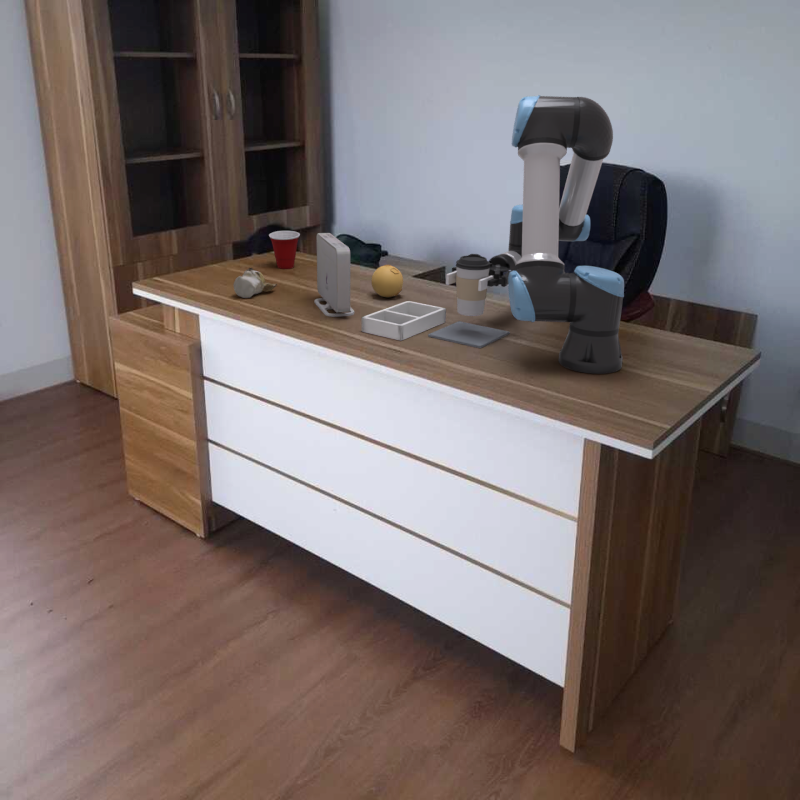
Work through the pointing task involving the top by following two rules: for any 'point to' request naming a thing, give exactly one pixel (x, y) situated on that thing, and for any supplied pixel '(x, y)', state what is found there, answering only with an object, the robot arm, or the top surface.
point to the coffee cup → (471, 284)
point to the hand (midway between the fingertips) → (463, 282)
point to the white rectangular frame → (403, 320)
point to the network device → (333, 275)
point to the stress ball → (387, 281)
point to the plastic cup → (284, 248)
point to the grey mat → (469, 334)
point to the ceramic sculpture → (251, 284)
